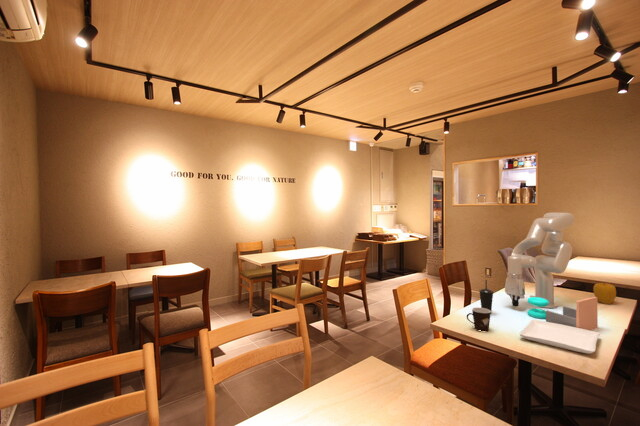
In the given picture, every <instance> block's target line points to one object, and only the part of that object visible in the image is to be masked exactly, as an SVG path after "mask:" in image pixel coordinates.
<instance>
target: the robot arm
mask: <svg viewBox="0 0 640 426" xmlns="http://www.w3.org/2000/svg"><path fill="white" fill-rule="evenodd" d="M574 223H575V216H574V215H573V214H572V213H570V212H557V211H556V212H555V211H554V212H547V213H545V214H544V215H543V217H538V218H536V219H534V220H533V222H532V225H531V226H530V229H529V230H528V233H527V235H526V237H525V239H523V240H522V241H520V242H519V243H518V244H517V245H515V246H514V248H513V250H512V252H511V254H510V256H507V272H506V276H507V277H506V278H505V283H504V284H505V285H504V293H505V295H507V296H509V298H510V299H511V305H512V306H513V307H519V301H520V299H525V295H526V289H525V281H524V279H523V268H524V269H532V268H533V270H534V285H535V287H534V289H535V290H534V293H535V295H530V296H529V298H530V297H539V298H544V299H546V300H548V302H549V304H548V305H547V306H544V307H542V308H544V309H556V308H557V307H558V304H556V303H555V295H554V294H555V289H554V285H555V284H554V283H555V281H554V280H555V279H554V276H553V273H554V274H563V273H564V272H565V271H566V270H567V267H568V265H569V263H570V260H571V257H572V254H573V247H572V245H571V243H570V242H567V241H564V240H563V239H564V232H563V230H565V229H567V228H569V227H572V225H573V224H574ZM541 244H542V245H541ZM540 245H541V253H543V254H545V255H542V254H541V255H540V254H539V255H537V256H535V257H534V256H531V255H529V254H527V255H526V254H524V253H525V252H526V251H527V250H528V249H531V248H533V247H537V246H538V247H539V246H540ZM537 307H538V308H540V307H539V306H537Z"/></svg>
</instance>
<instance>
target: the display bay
mask: <svg viewBox="0 0 640 426" xmlns="http://www.w3.org/2000/svg"><path fill="white" fill-rule="evenodd" d="M545 311H546V318H545V322H550V323H556V324H561V325H566V326H571V327H576V328H580V329H585V330H589V331H594V330H596V329H598V328H599V327H598V324H599V323H598V321H599V320H598V300H597V297H595V296H592V297H588V298H584V299H579V300H576V301H575V308H572V307H569V306H565V305H564V306H562V313H558V312H554V311H551V310H545Z"/></svg>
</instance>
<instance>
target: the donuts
mask: <svg viewBox="0 0 640 426" xmlns="http://www.w3.org/2000/svg"><path fill="white" fill-rule="evenodd" d="M527 302H528V304H530V305H531V306H535V307H538V306H539V307H538V308H535V307H534V308H530V309H528V310H527V314H528V316H530V317H532V318H536V319H541V320H542V319H546V311H547V310H545V309H542V308H543V307H544V306H547V305H548V304H549V302H548V300H546V299H544V298H539V297H530V296H529V297H528V298H527Z"/></svg>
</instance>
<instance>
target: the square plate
mask: <svg viewBox="0 0 640 426" xmlns="http://www.w3.org/2000/svg"><path fill="white" fill-rule="evenodd" d="M519 335H520V336H521V338H524V339H526V340H528V341H532V342H535V343H539V344H544V345H548V346H551V347H554V348H555V347H556V348H560V349H563V350H569V351H573V352H578V353H582V354H593V353H595V352H596V348H597V342H598V339H599V336H600V335H601V333H600V332H598V331H594V330H591V331H589V330H585V329H580V328H576V327H571V326H566V325H561V324H556V323H550V322H546V320H545V321H544V320H537V319H531V320H530V321H529V323H528V324H527V325H526V326H525V327H524V328H523V329H522V330H521V331H520V333H519Z"/></svg>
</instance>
